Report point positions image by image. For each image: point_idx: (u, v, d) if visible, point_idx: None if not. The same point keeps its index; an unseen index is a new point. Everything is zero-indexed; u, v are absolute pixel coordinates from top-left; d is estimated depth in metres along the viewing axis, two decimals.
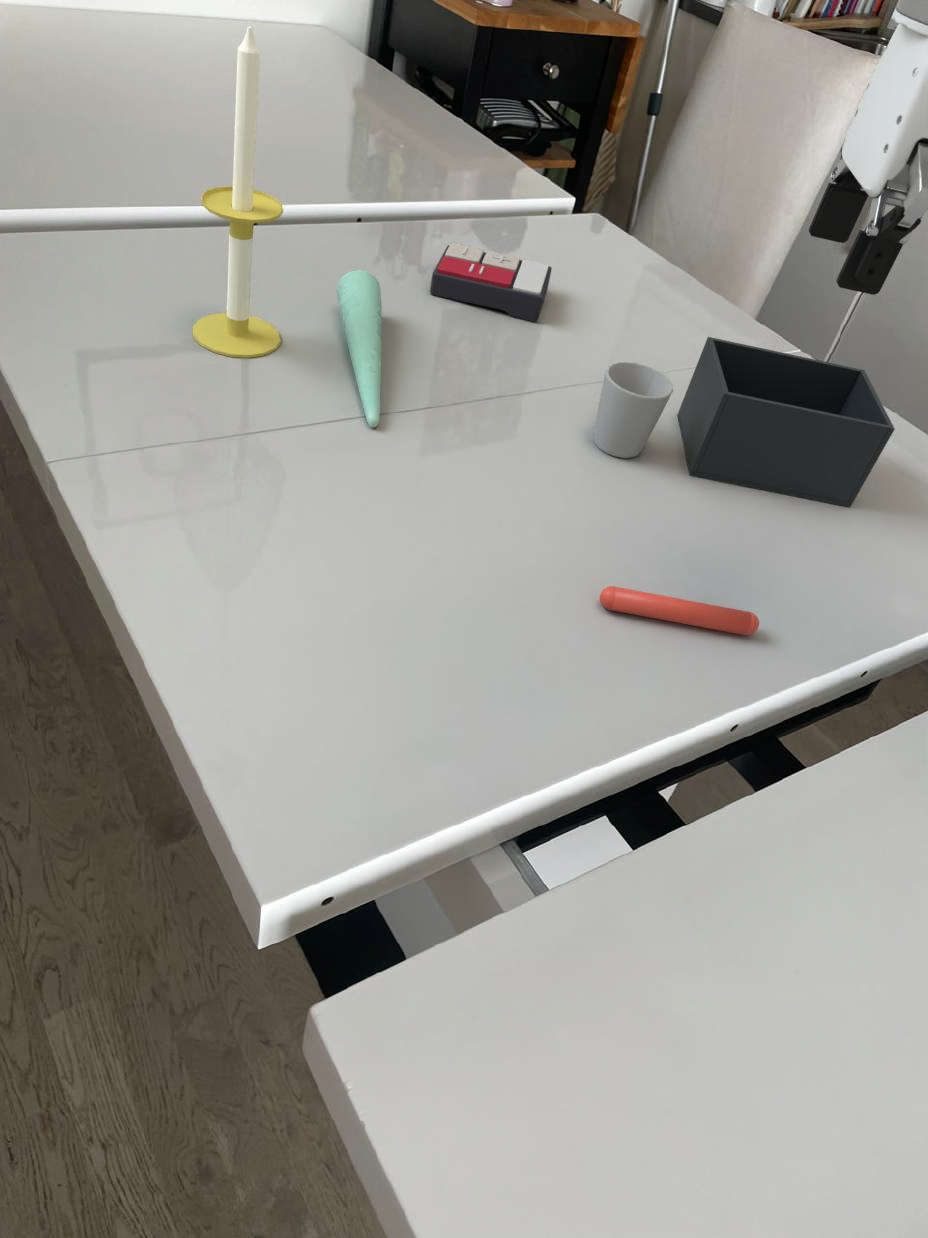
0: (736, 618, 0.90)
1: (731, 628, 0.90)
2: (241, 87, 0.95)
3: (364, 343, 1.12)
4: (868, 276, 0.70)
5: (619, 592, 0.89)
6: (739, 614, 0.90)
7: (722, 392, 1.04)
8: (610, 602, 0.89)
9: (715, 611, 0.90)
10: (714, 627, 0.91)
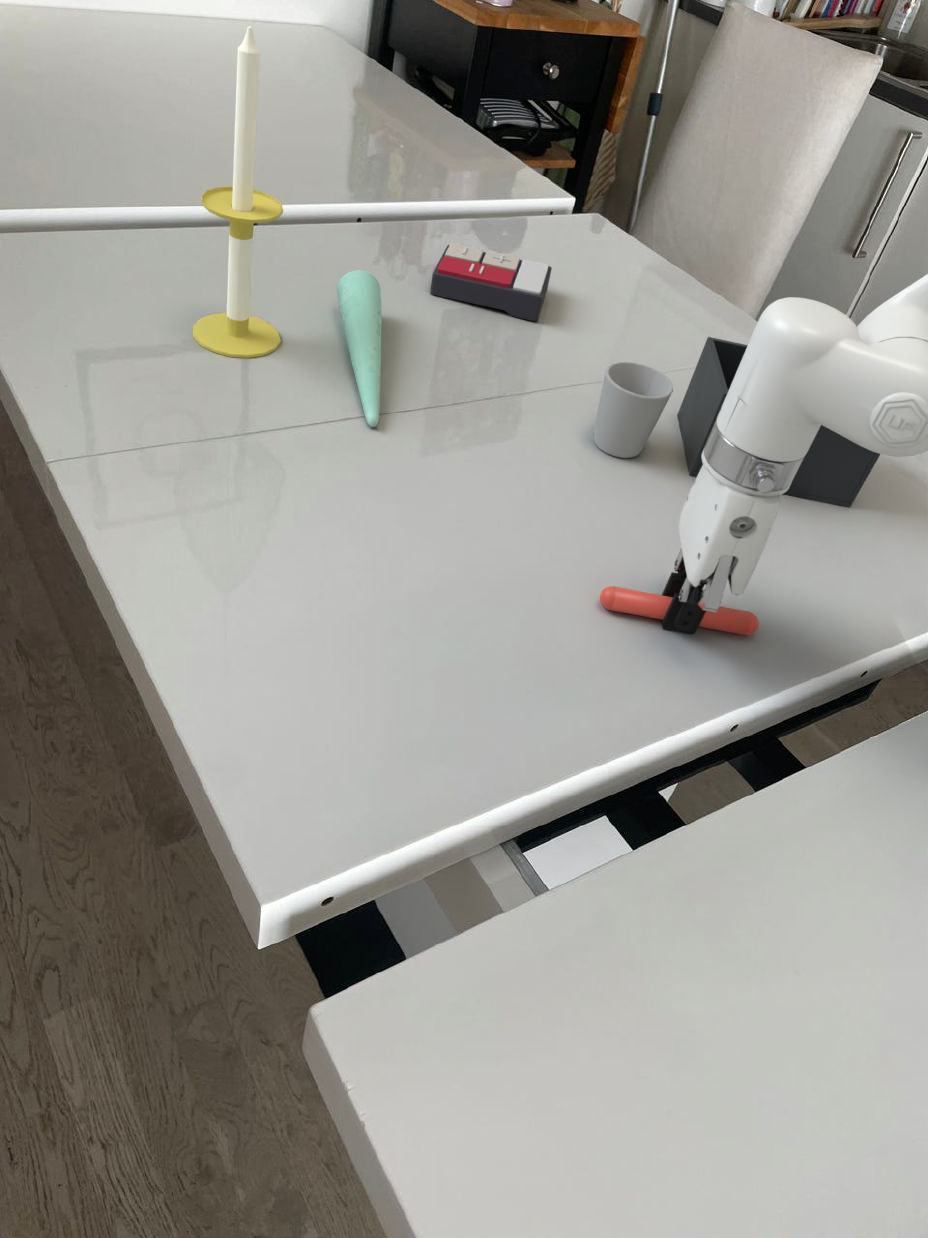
0: (736, 618, 0.90)
1: (731, 628, 0.90)
2: (241, 87, 0.95)
3: (364, 343, 1.12)
4: (684, 626, 0.89)
5: (619, 592, 0.89)
6: (739, 614, 0.90)
7: (722, 392, 1.04)
8: (610, 602, 0.89)
9: None
10: (714, 627, 0.91)
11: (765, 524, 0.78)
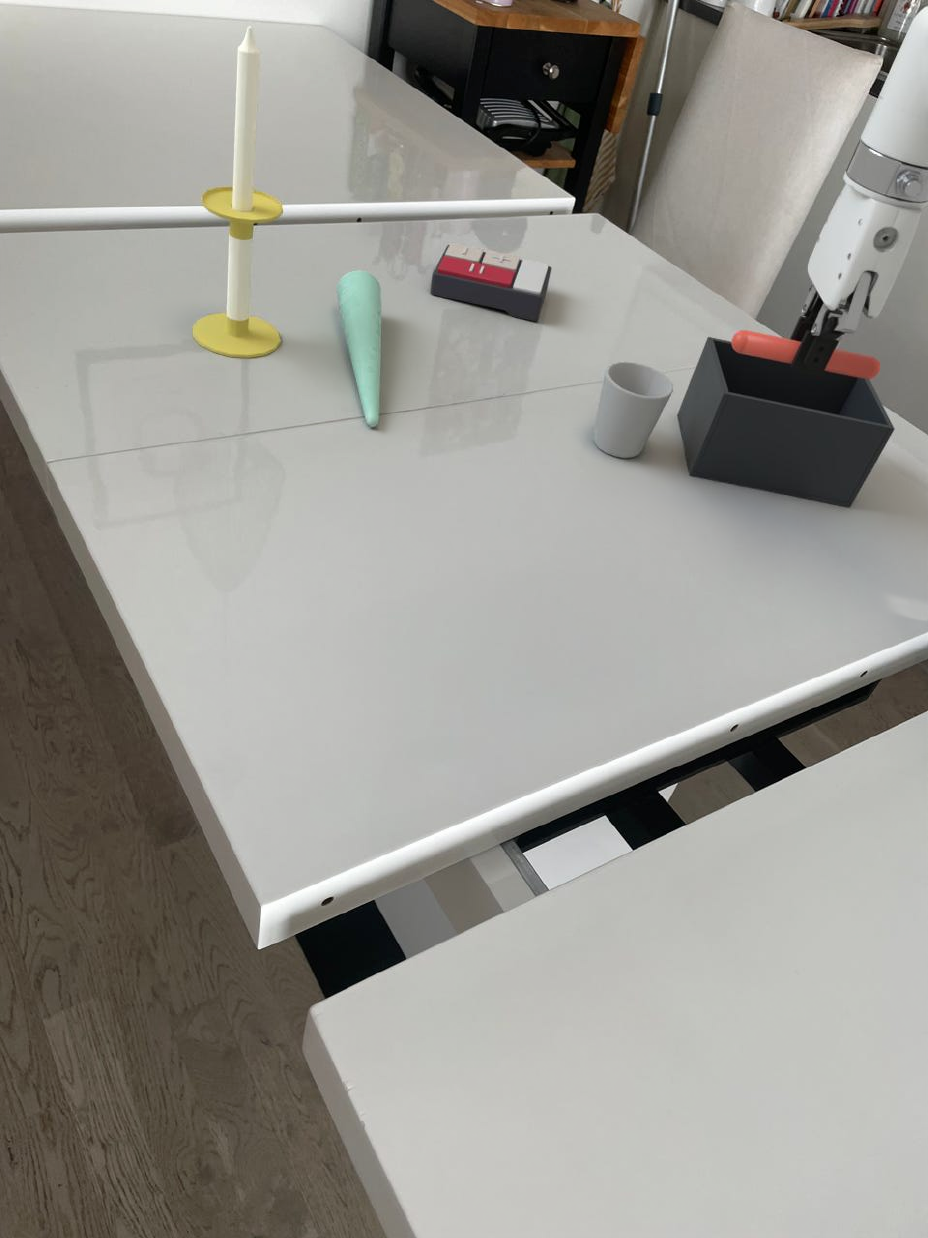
0: (860, 360, 0.96)
1: (855, 370, 0.96)
2: (241, 87, 0.95)
3: (364, 343, 1.12)
4: (813, 363, 0.94)
5: (751, 334, 0.95)
6: (862, 356, 0.96)
7: (722, 392, 1.04)
8: (743, 343, 0.95)
9: (840, 353, 0.96)
10: (839, 369, 0.96)
11: (907, 235, 0.84)
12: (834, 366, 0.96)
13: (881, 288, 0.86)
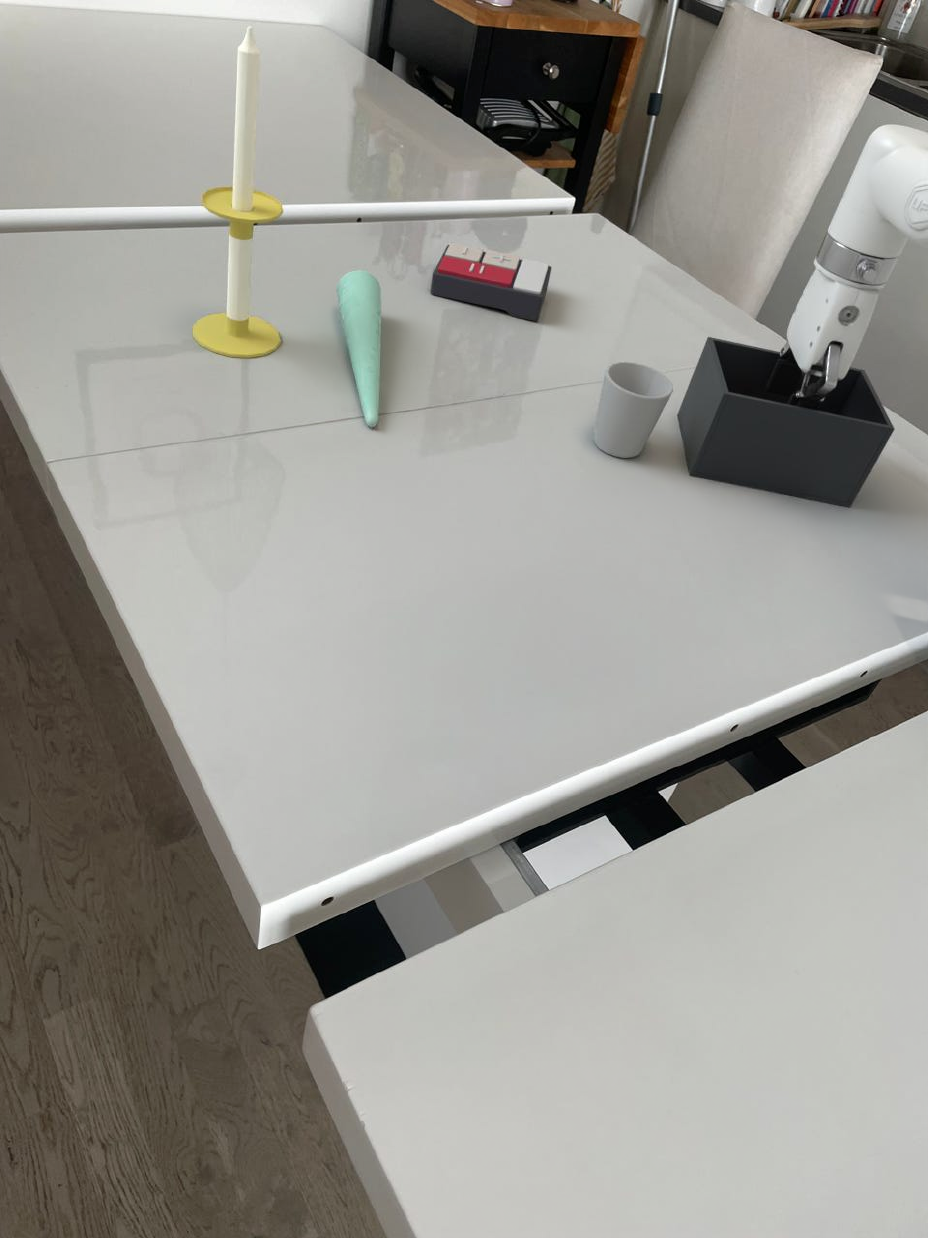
0: None
1: None
2: (241, 87, 0.95)
3: (363, 343, 1.12)
4: None
5: None
6: None
7: (722, 392, 1.04)
8: None
9: None
10: None
11: (867, 312, 0.99)
12: None
13: (846, 355, 1.02)
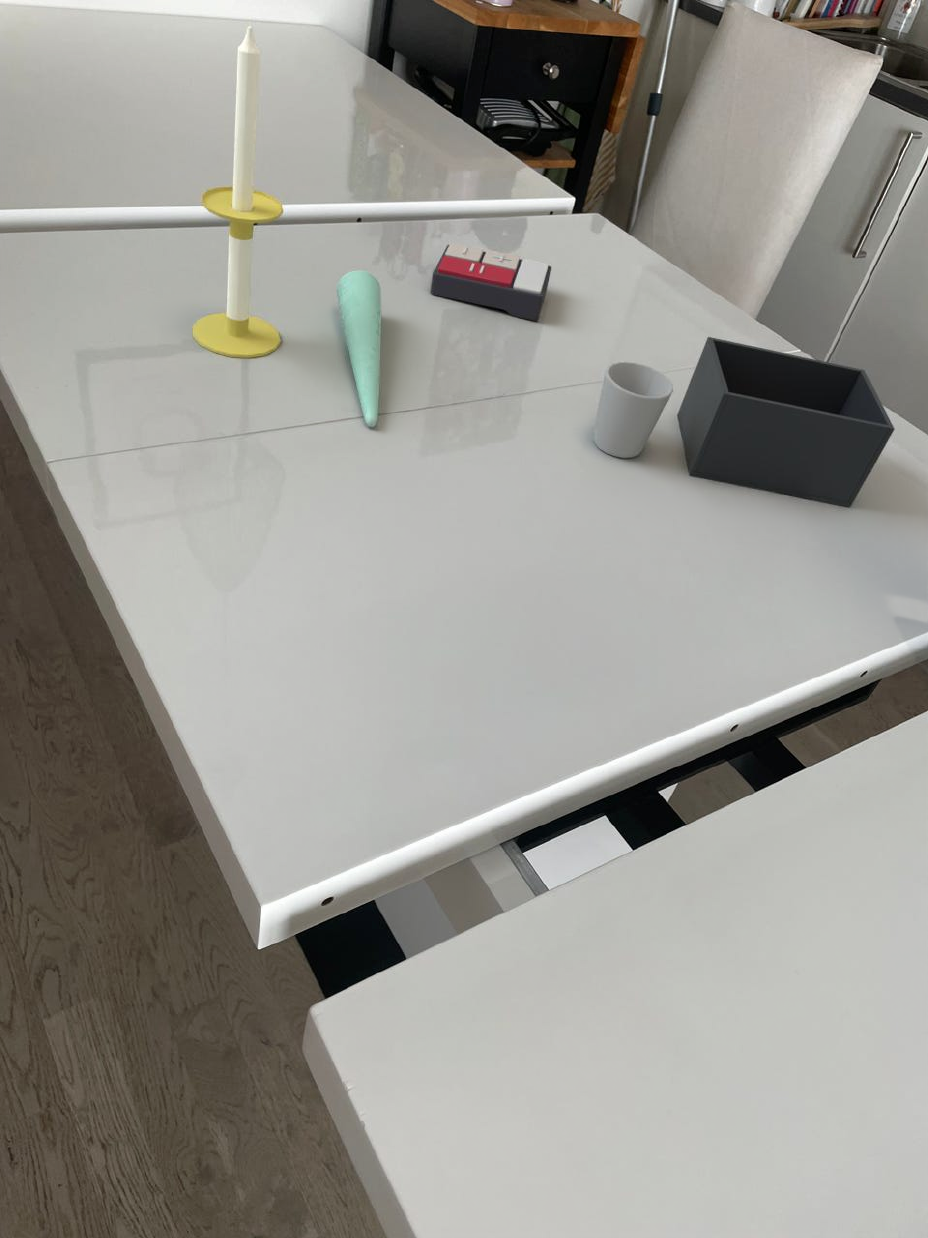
0: None
1: None
2: (241, 87, 0.95)
3: (363, 343, 1.12)
4: None
5: None
6: None
7: (722, 392, 1.04)
8: None
9: None
10: None
11: None
12: None
13: None
